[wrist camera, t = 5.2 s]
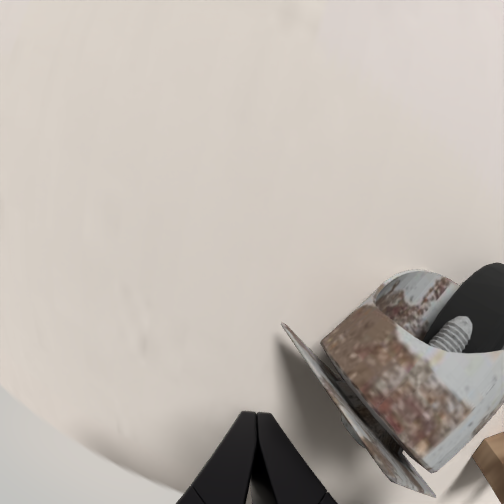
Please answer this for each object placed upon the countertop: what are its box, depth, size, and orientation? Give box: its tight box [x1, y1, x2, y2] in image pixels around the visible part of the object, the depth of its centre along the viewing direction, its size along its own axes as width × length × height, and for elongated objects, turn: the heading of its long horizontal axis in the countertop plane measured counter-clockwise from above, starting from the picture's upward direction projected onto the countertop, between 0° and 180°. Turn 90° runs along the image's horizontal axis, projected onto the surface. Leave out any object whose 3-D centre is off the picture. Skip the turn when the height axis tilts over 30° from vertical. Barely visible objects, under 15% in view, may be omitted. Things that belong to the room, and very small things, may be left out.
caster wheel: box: [281, 263, 504, 498], centre depth 9 cm, size 7×11×10 cm
